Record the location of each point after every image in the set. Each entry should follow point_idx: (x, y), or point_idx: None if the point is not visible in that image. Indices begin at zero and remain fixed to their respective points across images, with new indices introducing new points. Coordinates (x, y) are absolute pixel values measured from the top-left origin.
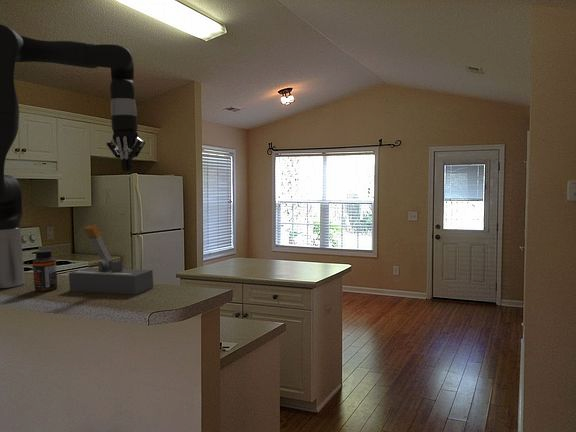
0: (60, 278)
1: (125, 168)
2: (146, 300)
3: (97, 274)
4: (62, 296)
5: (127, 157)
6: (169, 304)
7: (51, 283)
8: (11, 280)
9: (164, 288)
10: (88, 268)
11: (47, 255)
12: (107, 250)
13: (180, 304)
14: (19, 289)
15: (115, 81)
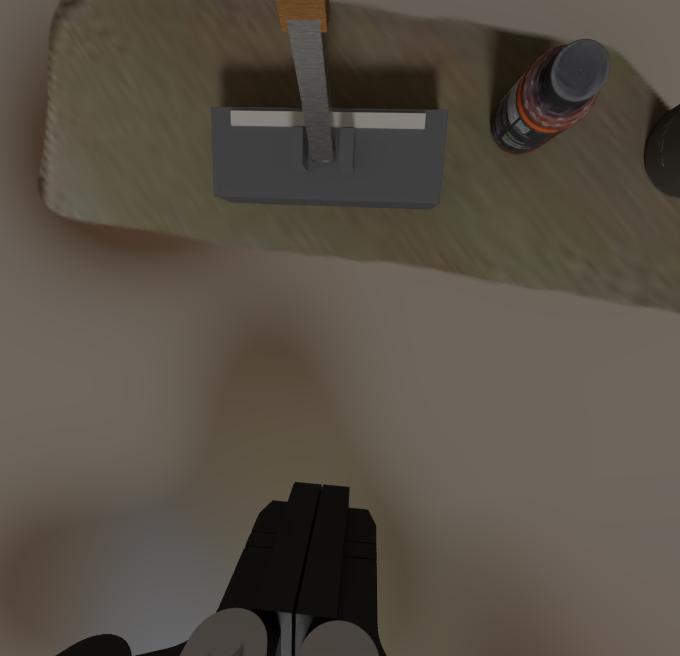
0: (577, 264)
1: (311, 503)
2: (170, 75)
3: (338, 108)
4: (414, 63)
5: (206, 642)
6: (96, 53)
7: (498, 107)
8: (671, 117)
9: (200, 199)
10: (430, 189)
11: (546, 69)
12: (302, 106)
13: (73, 59)
14: (611, 111)
15: None
